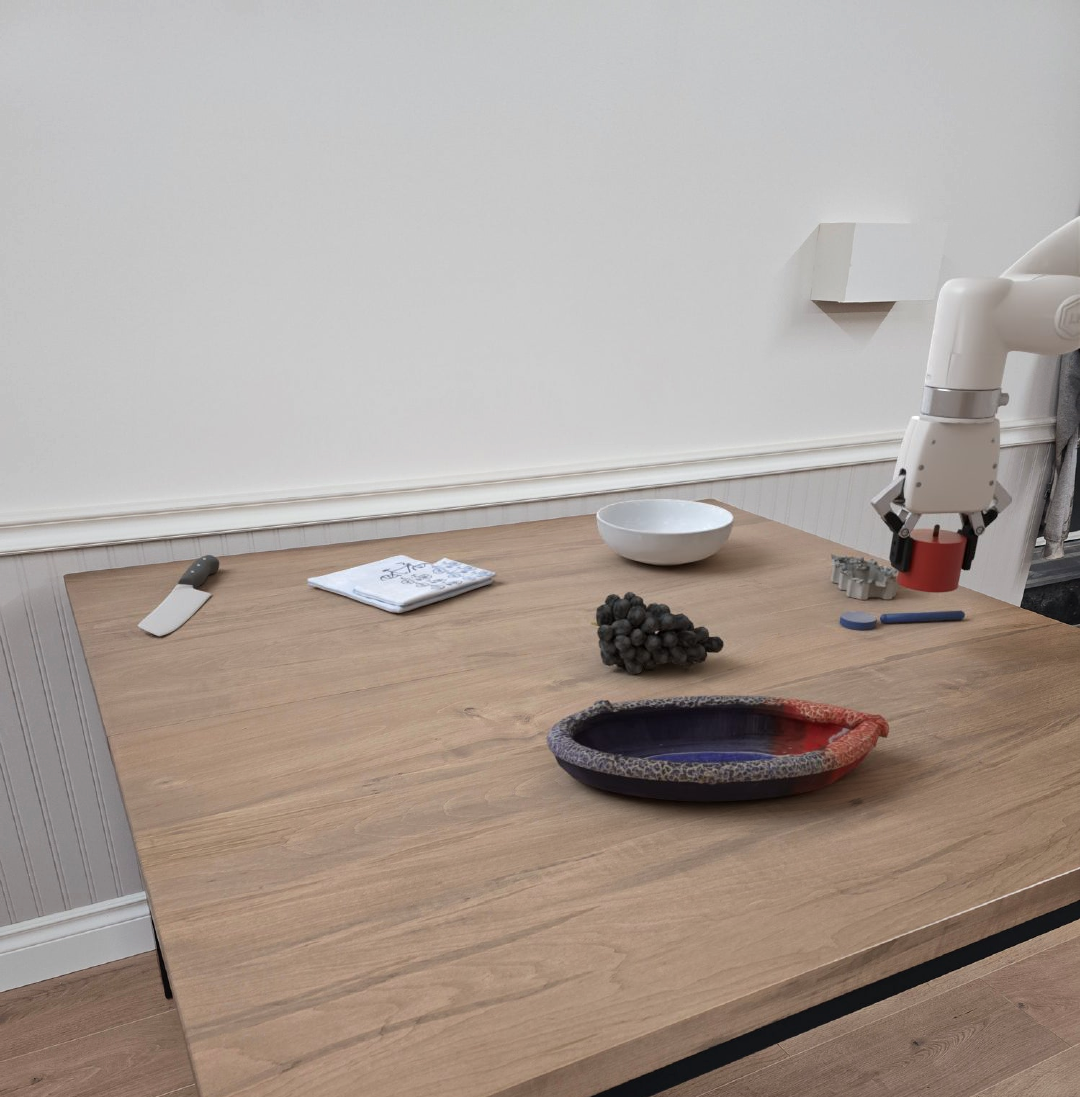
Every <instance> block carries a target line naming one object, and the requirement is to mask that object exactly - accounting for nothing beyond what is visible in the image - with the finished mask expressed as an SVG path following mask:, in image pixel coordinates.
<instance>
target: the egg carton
mask: <svg viewBox="0 0 1080 1097" xmlns="http://www.w3.org/2000/svg"><path fill="white" fill-rule="evenodd" d="M831 561H832V565H831V567H832V568H831V574H830V582H831V583H833V584H838V587H837V588H838V589H839V590H840V591H846V597H848V598H852V599H857V600H860V601H861V600H862V601H867V600H868V598H880V599H883V600H892V598H895V597H896V596H897V592H898V589H899V584H898V583H897V577H898V570H897V569H895V568H893V567H889V566H886V565H883V564H878V560H876V559H874V558H871V559H870V560H869V561H868V560H865V558H864V556H860V557H856V556H850V557H849V556H847V555H844V556H837V555H834V554H831Z"/></svg>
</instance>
